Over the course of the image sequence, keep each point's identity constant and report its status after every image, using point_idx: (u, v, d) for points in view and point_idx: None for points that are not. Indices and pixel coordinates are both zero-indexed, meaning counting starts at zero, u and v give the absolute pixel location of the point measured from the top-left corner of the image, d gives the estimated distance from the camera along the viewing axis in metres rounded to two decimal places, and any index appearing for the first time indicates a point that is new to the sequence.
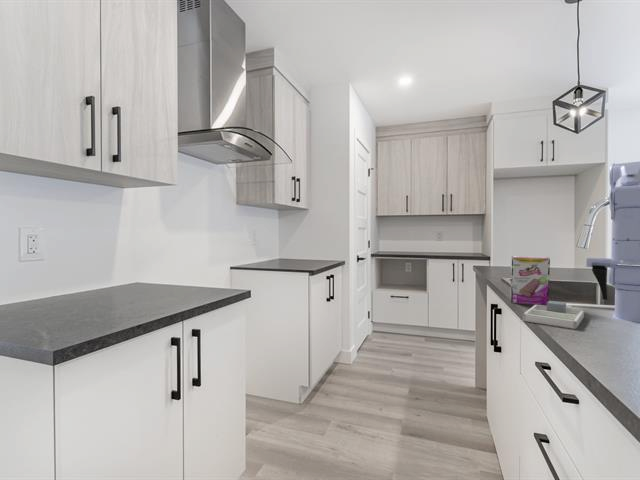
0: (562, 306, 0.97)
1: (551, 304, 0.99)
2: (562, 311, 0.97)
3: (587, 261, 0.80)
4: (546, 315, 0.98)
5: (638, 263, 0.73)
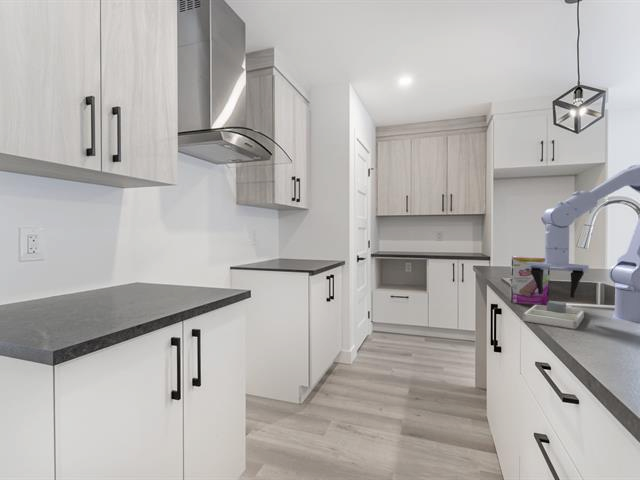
0: (562, 306, 0.97)
1: (551, 304, 0.99)
2: (562, 311, 0.97)
3: (527, 264, 1.03)
4: (546, 315, 0.98)
5: (562, 266, 0.96)
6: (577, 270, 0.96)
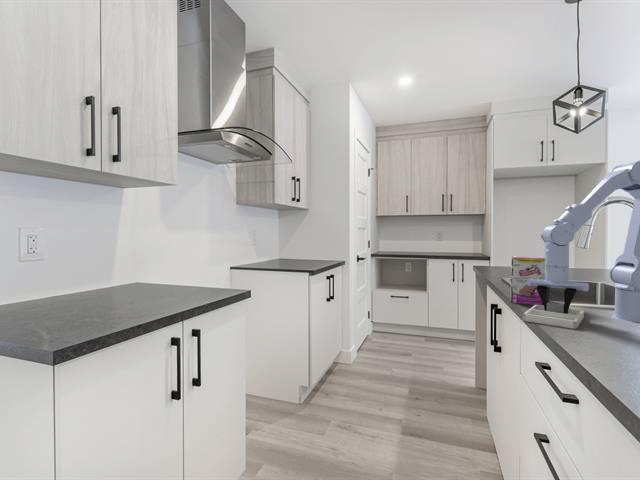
0: (562, 306, 0.97)
1: (551, 304, 0.99)
2: (562, 311, 0.97)
3: (527, 281, 1.04)
4: (546, 315, 0.98)
5: (562, 284, 0.96)
6: (577, 288, 0.96)
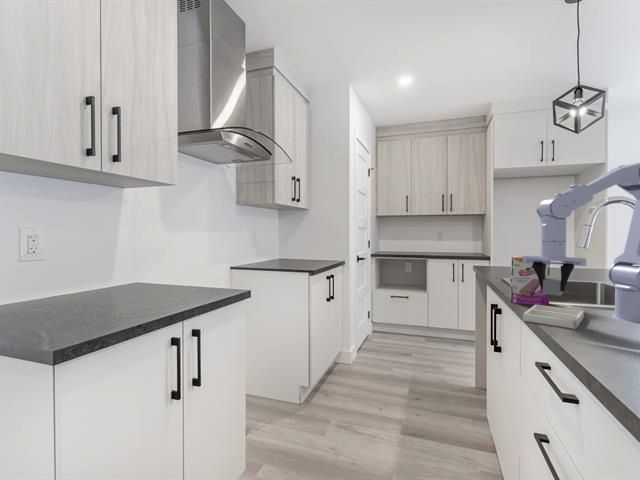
0: (559, 282, 0.93)
1: (547, 281, 0.95)
2: (559, 288, 0.93)
3: (523, 258, 1.00)
4: (546, 315, 0.98)
5: (558, 259, 0.93)
6: (574, 263, 0.92)
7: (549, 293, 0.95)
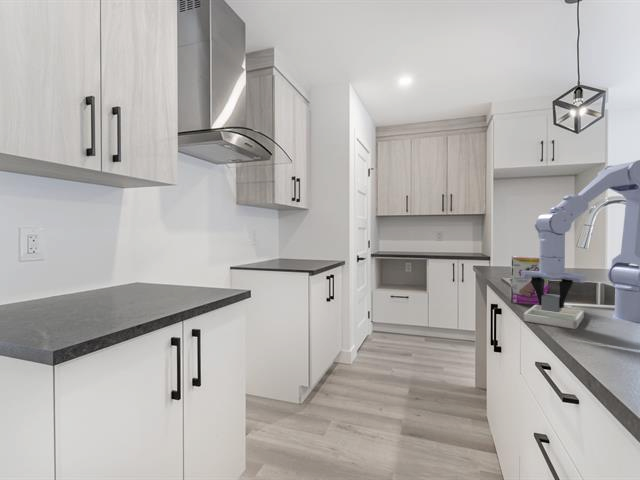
0: (557, 299, 0.92)
1: (546, 297, 0.94)
2: (557, 304, 0.92)
3: (521, 273, 0.98)
4: (546, 315, 0.98)
5: (557, 276, 0.91)
6: (573, 280, 0.90)
7: (548, 309, 0.93)
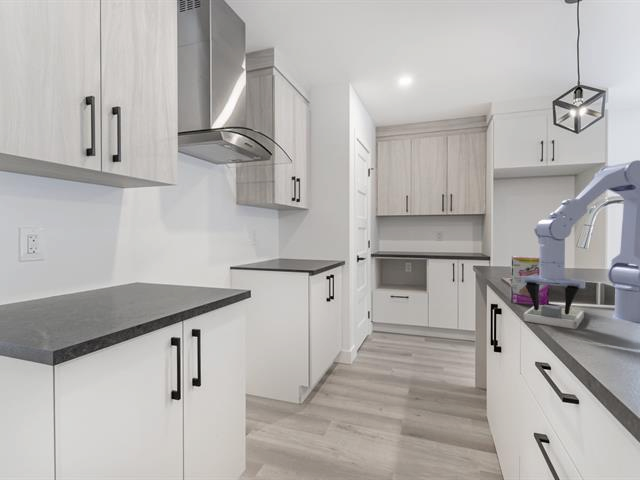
0: (557, 311, 0.92)
1: (546, 308, 0.94)
2: (557, 316, 0.92)
3: (521, 278, 0.98)
4: None
5: (557, 281, 0.91)
6: (573, 285, 0.90)
7: None
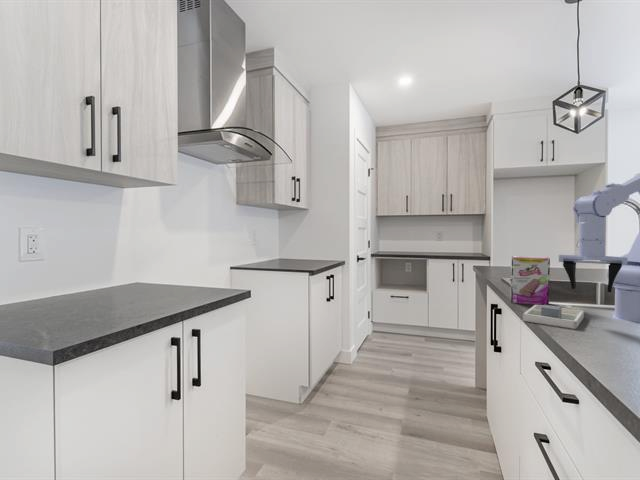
0: (557, 311, 0.92)
1: (546, 308, 0.94)
2: (557, 316, 0.92)
3: (559, 257, 0.97)
4: None
5: (598, 258, 0.90)
6: (615, 263, 0.89)
7: None
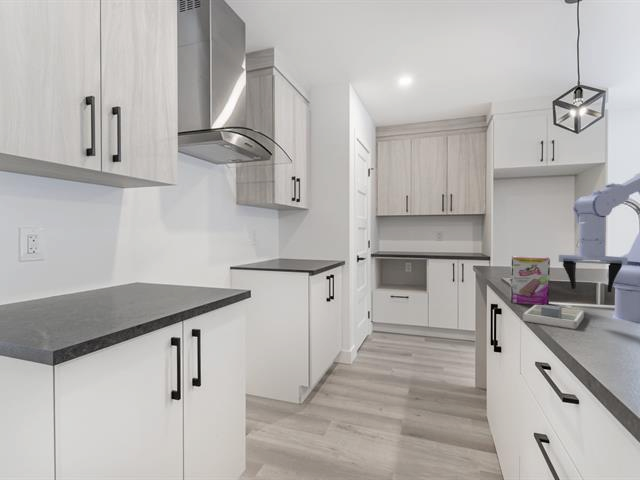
0: (557, 311, 0.92)
1: (546, 308, 0.94)
2: (557, 316, 0.92)
3: (559, 257, 0.97)
4: None
5: (598, 258, 0.90)
6: (615, 263, 0.89)
7: None
